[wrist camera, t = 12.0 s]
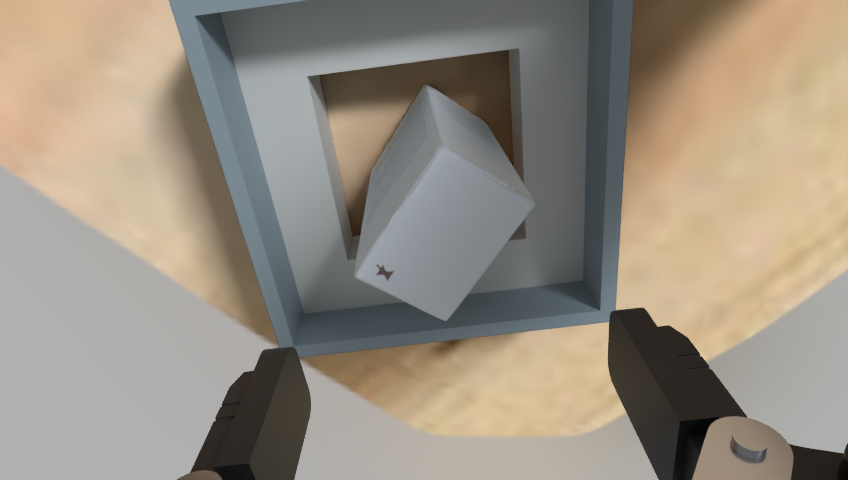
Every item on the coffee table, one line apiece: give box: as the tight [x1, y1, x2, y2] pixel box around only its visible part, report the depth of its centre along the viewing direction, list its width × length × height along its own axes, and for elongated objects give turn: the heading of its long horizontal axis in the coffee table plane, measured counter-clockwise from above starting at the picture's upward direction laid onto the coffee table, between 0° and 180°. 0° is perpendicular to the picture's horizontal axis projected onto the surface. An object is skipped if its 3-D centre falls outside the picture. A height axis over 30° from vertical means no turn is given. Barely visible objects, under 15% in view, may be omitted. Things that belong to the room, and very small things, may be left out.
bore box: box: [169, 0, 634, 358], centre depth 26 cm, size 18×18×6 cm
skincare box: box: [354, 84, 535, 321], centre depth 23 cm, size 6×4×12 cm
